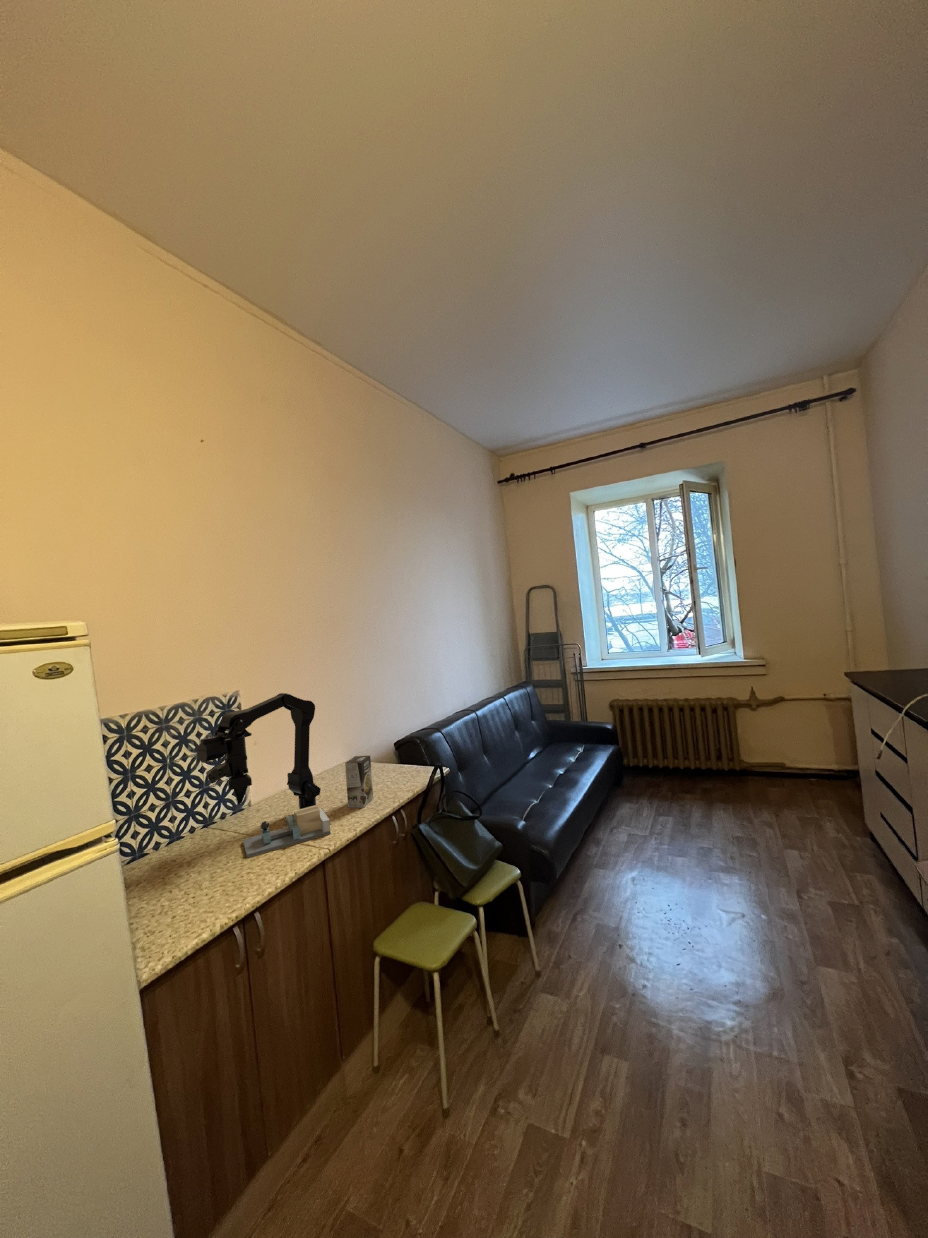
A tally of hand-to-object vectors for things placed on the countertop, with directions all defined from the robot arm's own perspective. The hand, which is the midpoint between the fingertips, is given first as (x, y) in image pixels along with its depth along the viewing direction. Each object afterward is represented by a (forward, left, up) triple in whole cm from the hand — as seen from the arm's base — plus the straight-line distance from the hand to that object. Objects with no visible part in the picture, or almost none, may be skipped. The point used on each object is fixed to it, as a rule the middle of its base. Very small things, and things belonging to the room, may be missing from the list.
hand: (239, 803), depth 150 cm
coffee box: (-6, +40, -12) cm, 42 cm away
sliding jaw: (+7, +10, -11) cm, 16 cm away
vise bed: (+7, +12, -12) cm, 18 cm away
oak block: (+7, +19, -11) cm, 23 cm away
